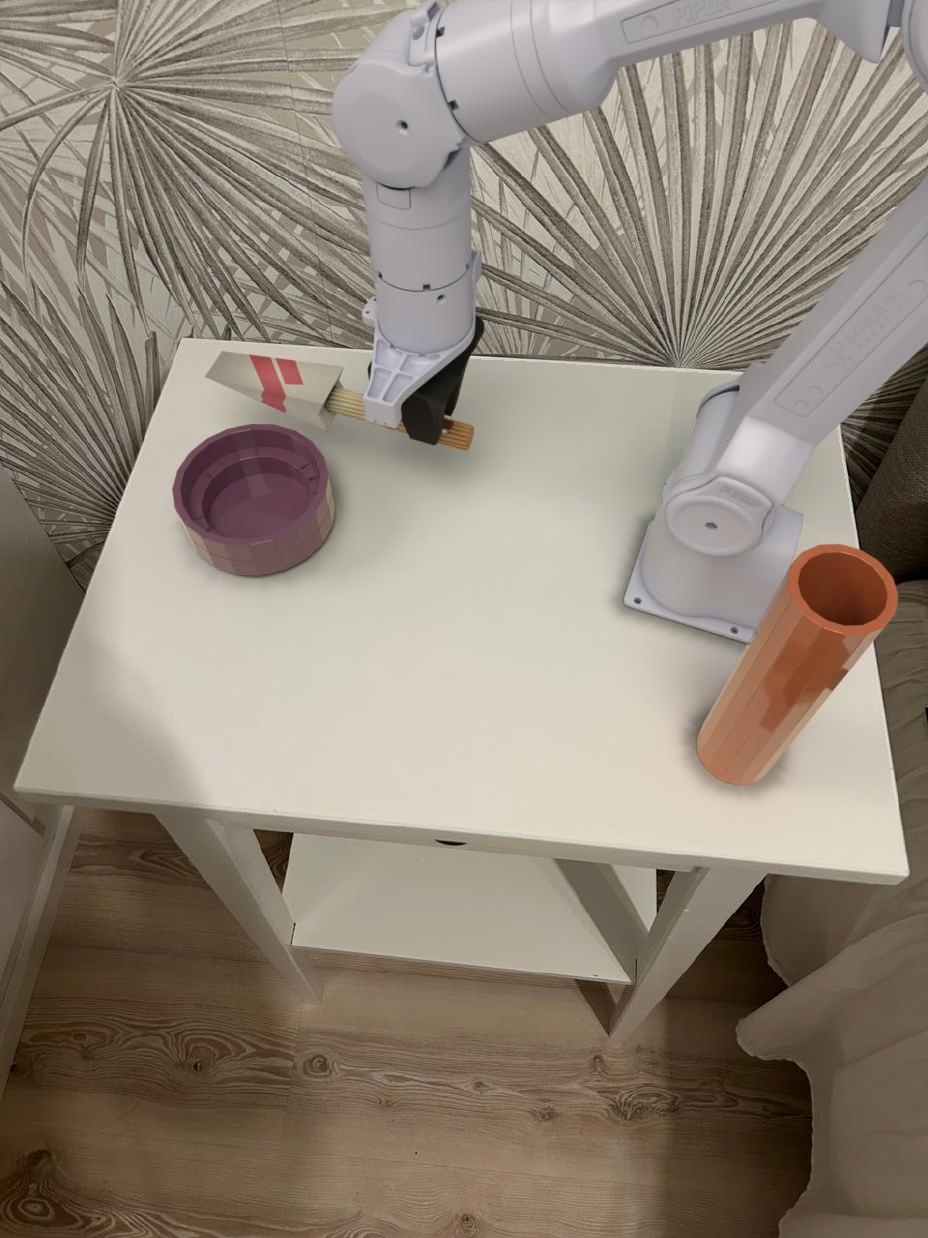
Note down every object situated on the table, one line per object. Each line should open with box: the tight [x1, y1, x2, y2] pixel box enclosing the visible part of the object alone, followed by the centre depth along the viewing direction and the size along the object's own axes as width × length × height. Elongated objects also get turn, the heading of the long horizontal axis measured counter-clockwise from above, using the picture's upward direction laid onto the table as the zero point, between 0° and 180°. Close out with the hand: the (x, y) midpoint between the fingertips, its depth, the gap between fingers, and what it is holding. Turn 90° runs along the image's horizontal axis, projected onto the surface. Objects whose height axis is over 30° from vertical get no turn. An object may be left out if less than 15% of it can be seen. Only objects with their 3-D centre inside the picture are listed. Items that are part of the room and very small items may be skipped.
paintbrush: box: [204, 350, 475, 452], centre depth 64 cm, size 4×3×20 cm
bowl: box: [171, 423, 336, 576], centre depth 67 cm, size 11×11×4 cm
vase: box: [696, 543, 899, 786], centre depth 50 cm, size 5×5×20 cm
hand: (431, 423), depth 63 cm, fingers closed on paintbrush, 2 cm apart
